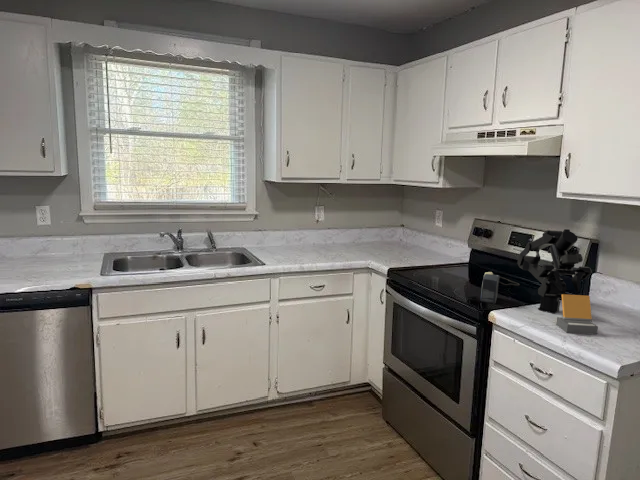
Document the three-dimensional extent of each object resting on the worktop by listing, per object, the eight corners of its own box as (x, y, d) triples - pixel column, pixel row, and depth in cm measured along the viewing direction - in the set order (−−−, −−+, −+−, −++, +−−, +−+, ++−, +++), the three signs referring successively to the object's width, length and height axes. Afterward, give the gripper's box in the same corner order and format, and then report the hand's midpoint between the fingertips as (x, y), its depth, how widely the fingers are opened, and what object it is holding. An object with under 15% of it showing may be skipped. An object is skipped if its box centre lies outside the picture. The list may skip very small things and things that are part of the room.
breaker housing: (556, 324, 176) (557, 316, 175) (584, 326, 176) (586, 318, 175) (566, 332, 168) (567, 324, 167) (596, 334, 168) (598, 326, 167)
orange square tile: (562, 320, 171) (560, 294, 174) (590, 321, 171) (588, 296, 174) (564, 319, 170) (562, 294, 173) (592, 321, 170) (590, 295, 173)
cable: (512, 279, 245) (513, 273, 245) (521, 287, 229) (522, 281, 229) (482, 277, 247) (483, 270, 247) (489, 285, 231) (490, 278, 231)
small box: (482, 295, 211) (484, 273, 209) (497, 297, 208) (500, 275, 206) (479, 301, 201) (482, 278, 199) (495, 303, 199) (498, 280, 197)
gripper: (545, 244, 180) (554, 279, 171) (593, 247, 180) (605, 281, 171) (533, 259, 189) (542, 293, 180) (579, 262, 189) (590, 295, 180)
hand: (569, 290), depth 177 cm, fingers open, 6 cm apart
